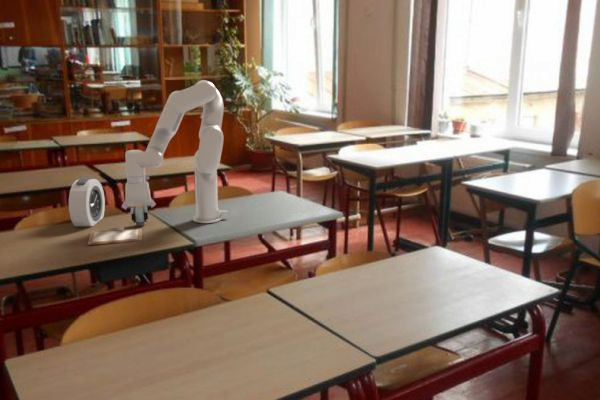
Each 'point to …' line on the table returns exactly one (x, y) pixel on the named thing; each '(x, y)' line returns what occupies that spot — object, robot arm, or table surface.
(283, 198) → the table surface
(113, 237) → the clipboard
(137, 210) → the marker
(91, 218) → the alarm clock
